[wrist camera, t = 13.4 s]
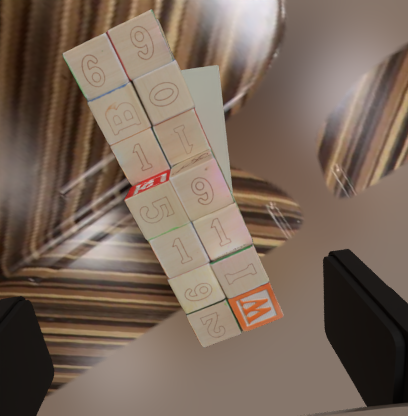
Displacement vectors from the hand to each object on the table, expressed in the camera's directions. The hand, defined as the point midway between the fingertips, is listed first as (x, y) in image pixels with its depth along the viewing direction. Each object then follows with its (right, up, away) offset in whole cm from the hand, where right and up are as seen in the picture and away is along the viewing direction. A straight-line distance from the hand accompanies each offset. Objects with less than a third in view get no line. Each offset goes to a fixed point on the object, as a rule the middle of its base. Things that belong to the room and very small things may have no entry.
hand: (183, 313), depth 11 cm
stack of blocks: (-1, +8, +21) cm, 23 cm away
